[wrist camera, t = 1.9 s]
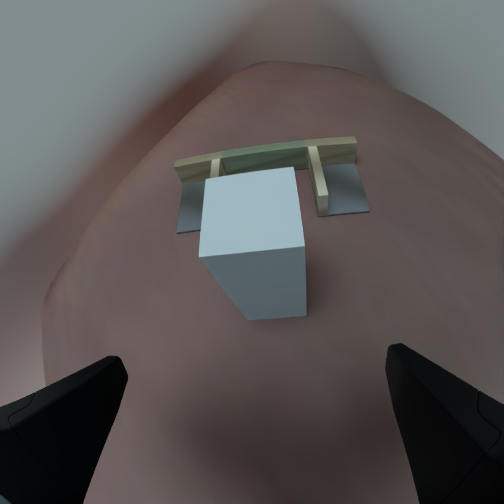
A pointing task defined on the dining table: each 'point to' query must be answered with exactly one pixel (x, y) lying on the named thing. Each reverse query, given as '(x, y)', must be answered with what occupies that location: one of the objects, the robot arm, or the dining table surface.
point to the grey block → (256, 242)
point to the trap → (273, 157)
